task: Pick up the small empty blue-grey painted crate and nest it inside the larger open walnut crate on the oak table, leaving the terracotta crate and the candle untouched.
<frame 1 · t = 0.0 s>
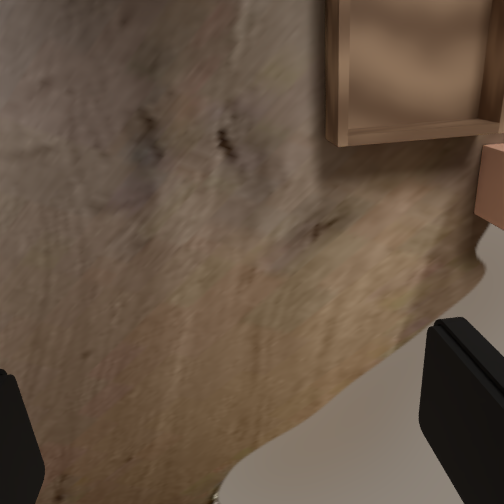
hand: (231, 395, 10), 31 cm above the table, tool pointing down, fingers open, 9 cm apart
walnut crate: (411, 17, 37), on the table
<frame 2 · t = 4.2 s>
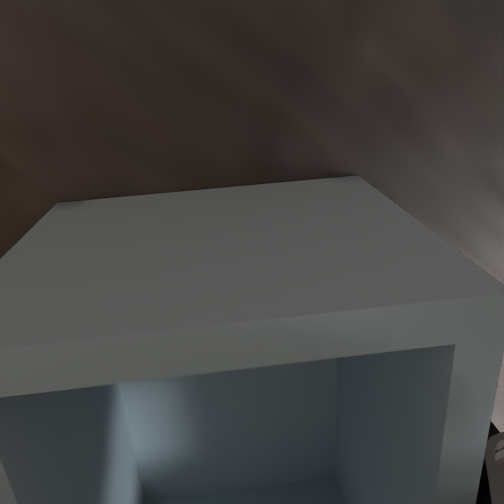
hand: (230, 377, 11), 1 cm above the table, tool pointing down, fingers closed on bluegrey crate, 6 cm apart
bluegrey crate: (228, 360, 12), on the table, touching gripper
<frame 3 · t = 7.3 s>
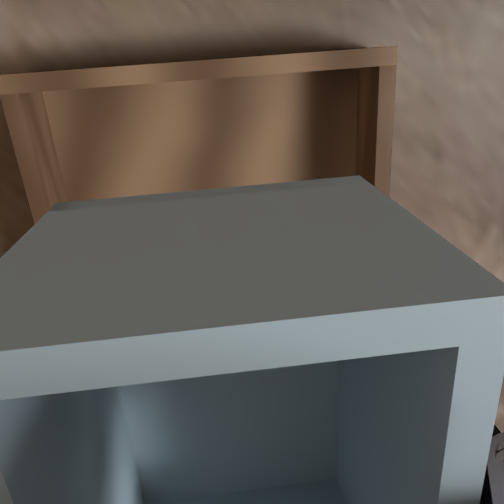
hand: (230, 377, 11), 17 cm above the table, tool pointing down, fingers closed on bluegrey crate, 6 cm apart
walnut crate: (214, 188, 27), on the table
bluegrey crate: (229, 361, 12), point 17 cm above the table, touching gripper
when the fingers open (4 cm above the table, at t = 10.6 s): bluegrey crate drops 2 cm, resting on walnut crate.
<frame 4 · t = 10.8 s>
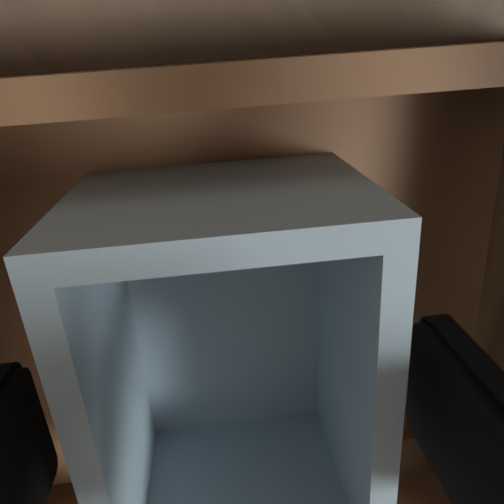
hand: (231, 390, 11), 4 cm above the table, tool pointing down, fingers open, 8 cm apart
walnut crate: (223, 298, 15), on the table
bluegrey crate: (226, 309, 14), point 1 cm above the table, touching walnut crate
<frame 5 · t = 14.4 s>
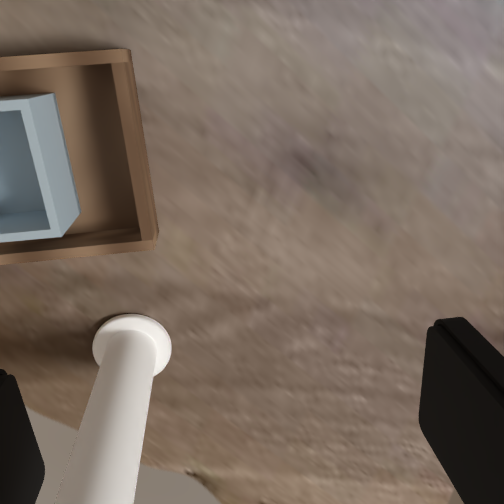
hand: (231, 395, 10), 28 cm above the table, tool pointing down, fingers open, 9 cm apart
walnut crate: (27, 157, 35), on the table
candle: (133, 344, 43), on the table
bluegrey crate: (24, 159, 34), point 1 cm above the table, touching walnut crate
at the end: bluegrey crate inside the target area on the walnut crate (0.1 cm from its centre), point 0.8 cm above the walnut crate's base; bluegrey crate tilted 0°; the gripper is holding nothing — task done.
